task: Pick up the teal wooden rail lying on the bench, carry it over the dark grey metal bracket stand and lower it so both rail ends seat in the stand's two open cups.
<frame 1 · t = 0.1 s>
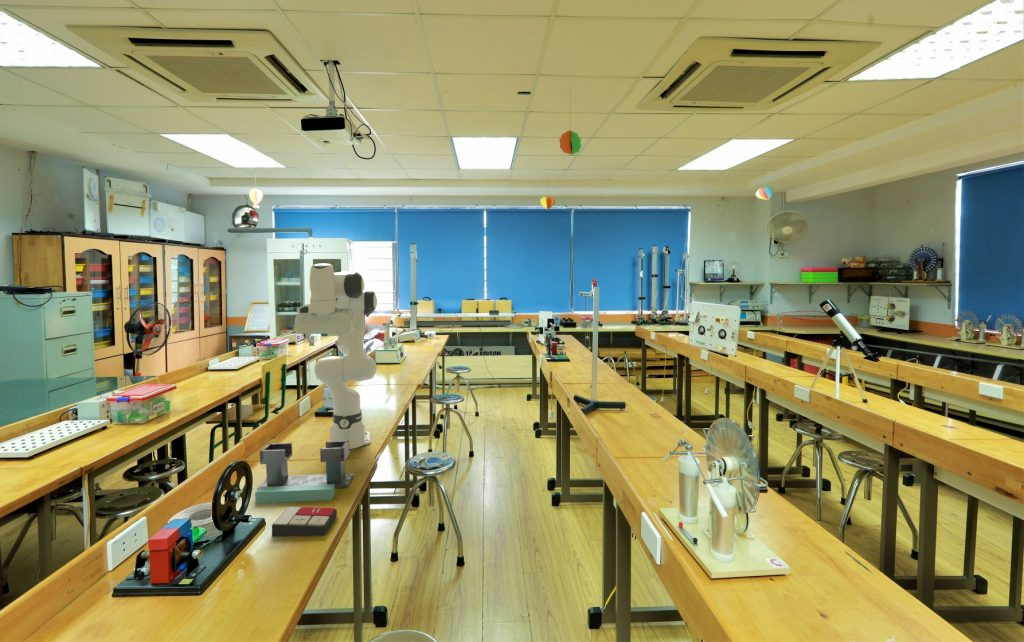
hand: (324, 345, 182), 48 cm above the lab bench, tool pointing down, fingers open, 8 cm apart
rail: (295, 499, 164), on the lab bench
bracket stand: (307, 483, 176), on the lab bench
calculator: (305, 528, 146), on the lab bench
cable: (202, 533, 143), on the lab bench
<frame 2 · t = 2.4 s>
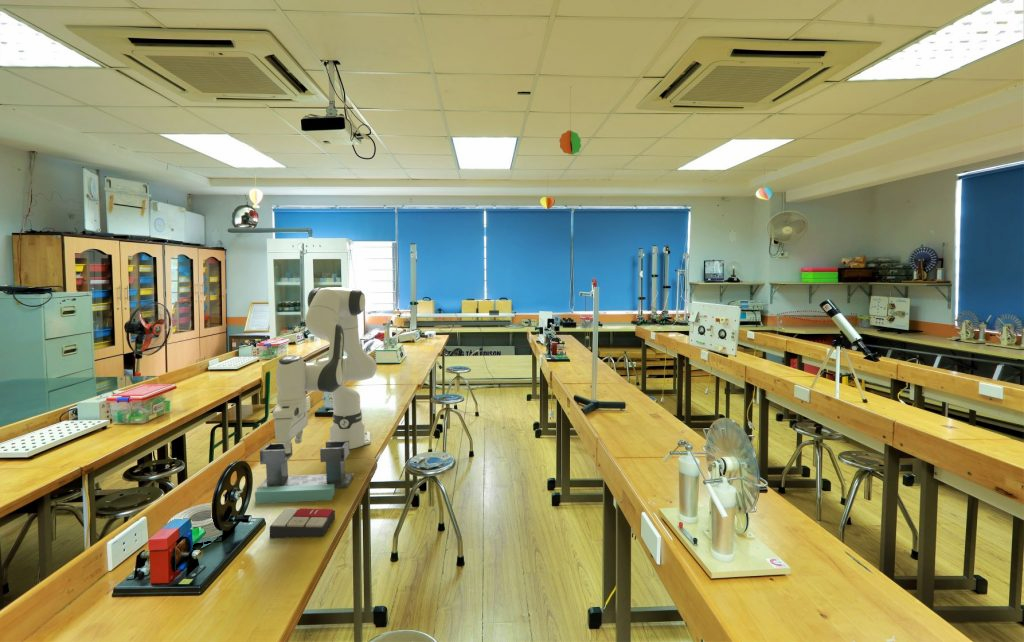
hand: (293, 447, 162), 17 cm above the lab bench, tool pointing down, fingers open, 8 cm apart
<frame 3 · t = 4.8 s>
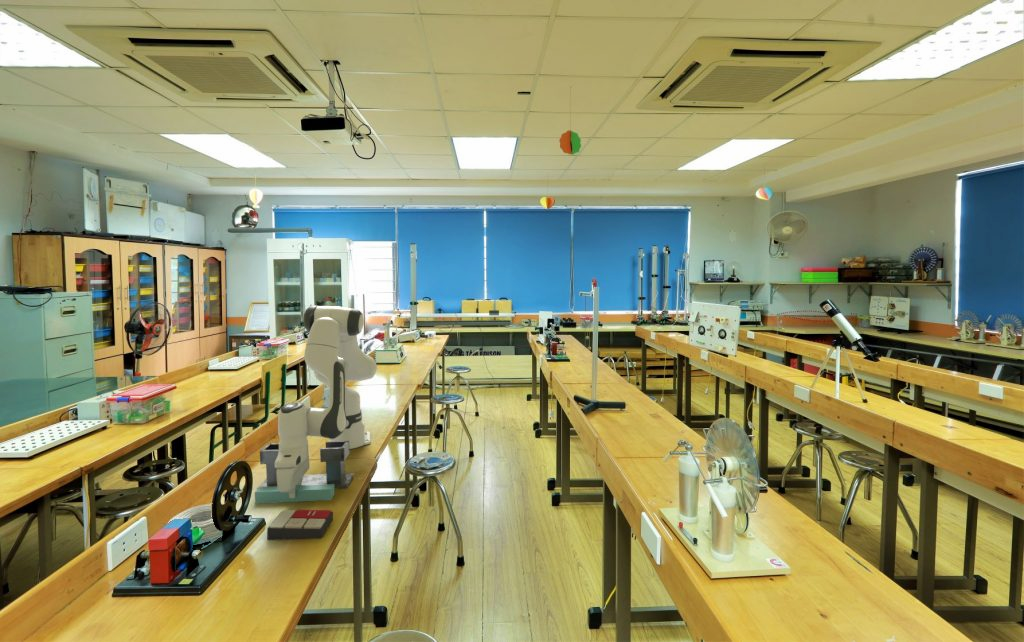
hand: (295, 493, 163), 2 cm above the lab bench, tool pointing down, fingers closed on rail, 4 cm apart
rail: (295, 499, 164), on the lab bench, touching gripper
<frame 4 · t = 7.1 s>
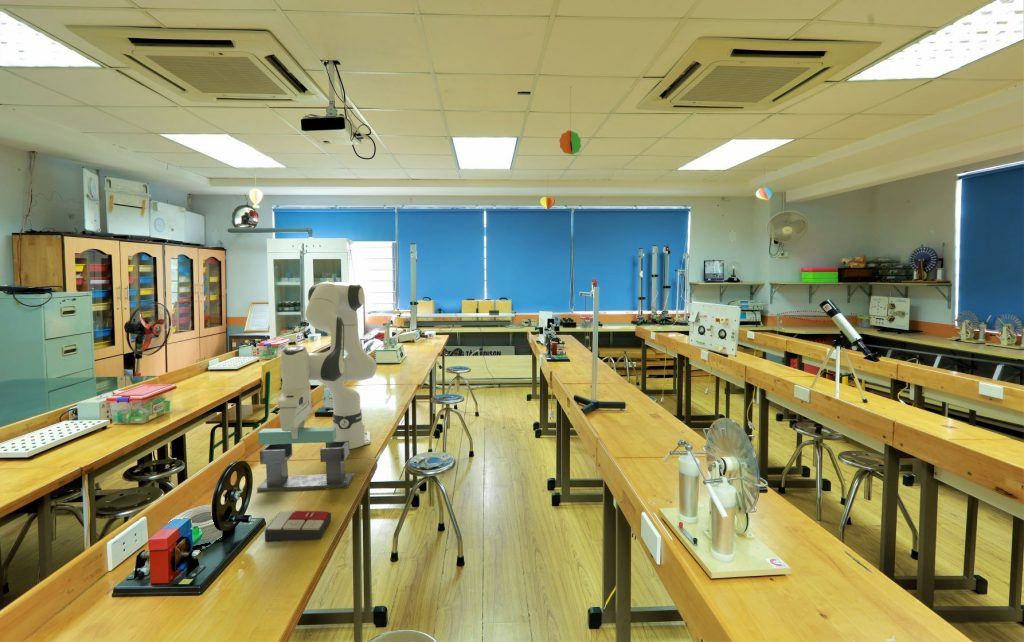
hand: (298, 435, 167), 20 cm above the lab bench, tool pointing down, fingers closed on rail, 4 cm apart
rail: (298, 441, 167), point 18 cm above the lab bench, touching gripper
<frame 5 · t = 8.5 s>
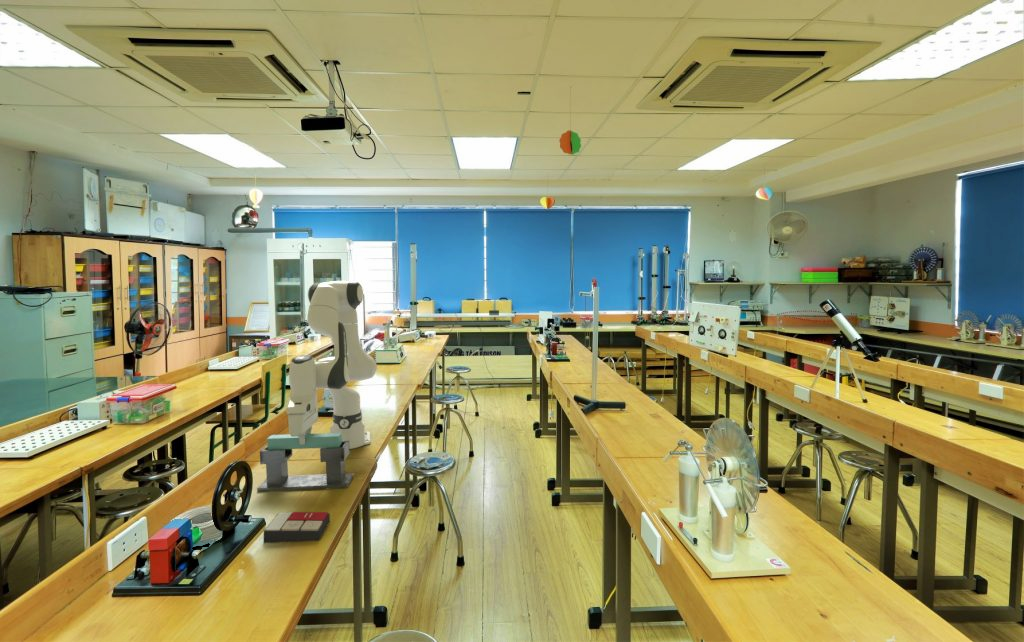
hand: (305, 441, 174), 16 cm above the lab bench, tool pointing down, fingers closed on rail, 4 cm apart
rail: (305, 446, 174), point 14 cm above the lab bench, touching gripper
when the fingers open (13 cm above the lab bench, at t = 9.7 s): rail stays where it is, resting on bracket stand.
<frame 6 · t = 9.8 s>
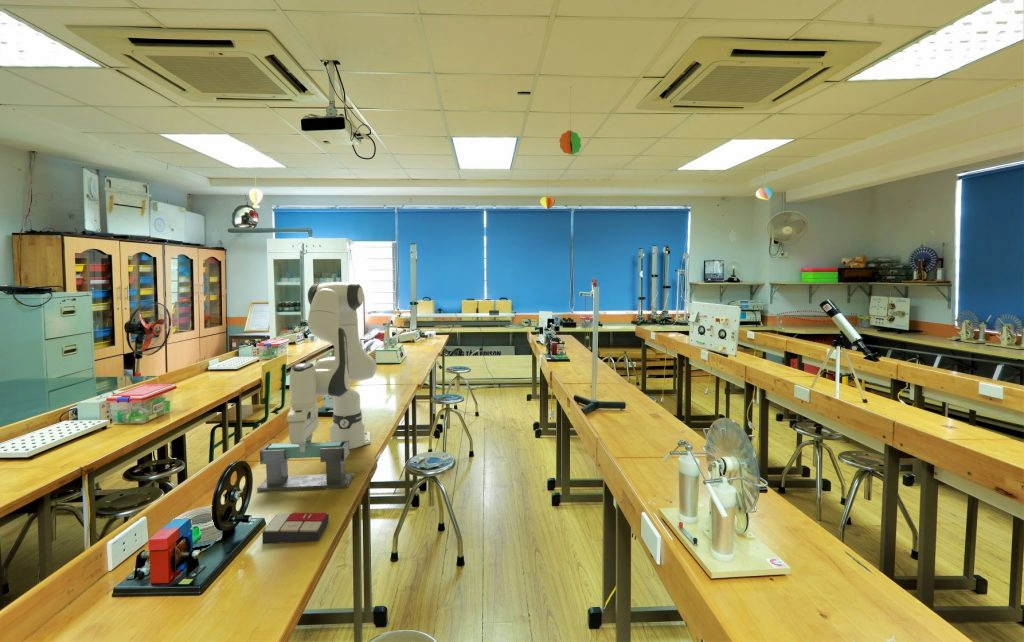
hand: (305, 448, 174), 13 cm above the lab bench, tool pointing down, fingers open, 5 cm apart
rail: (305, 455, 175), point 10 cm above the lab bench, touching bracket stand
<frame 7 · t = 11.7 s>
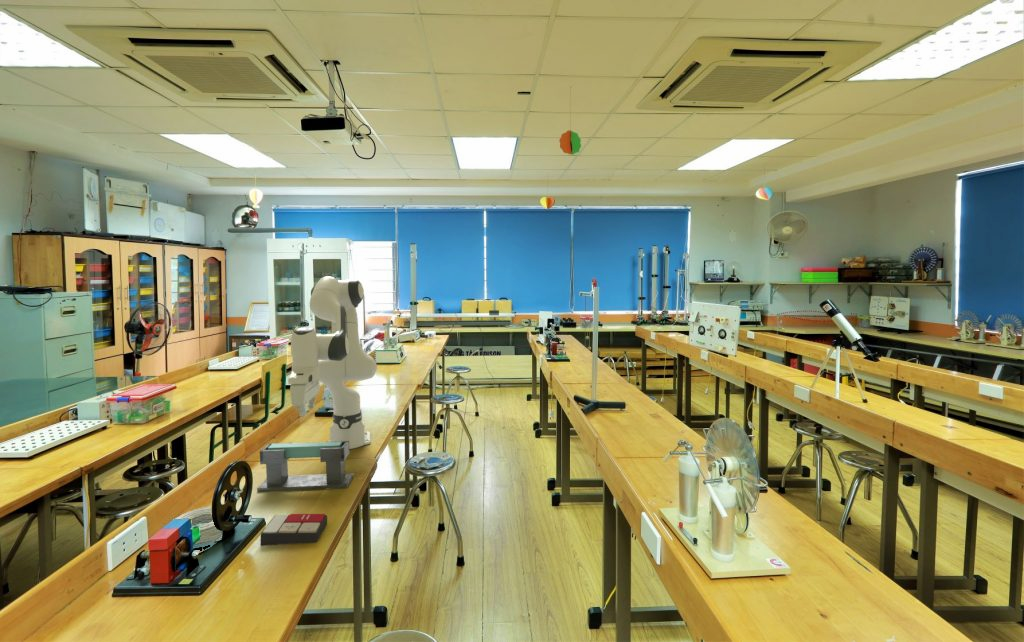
hand: (307, 412, 175), 25 cm above the lab bench, tool pointing down, fingers open, 8 cm apart
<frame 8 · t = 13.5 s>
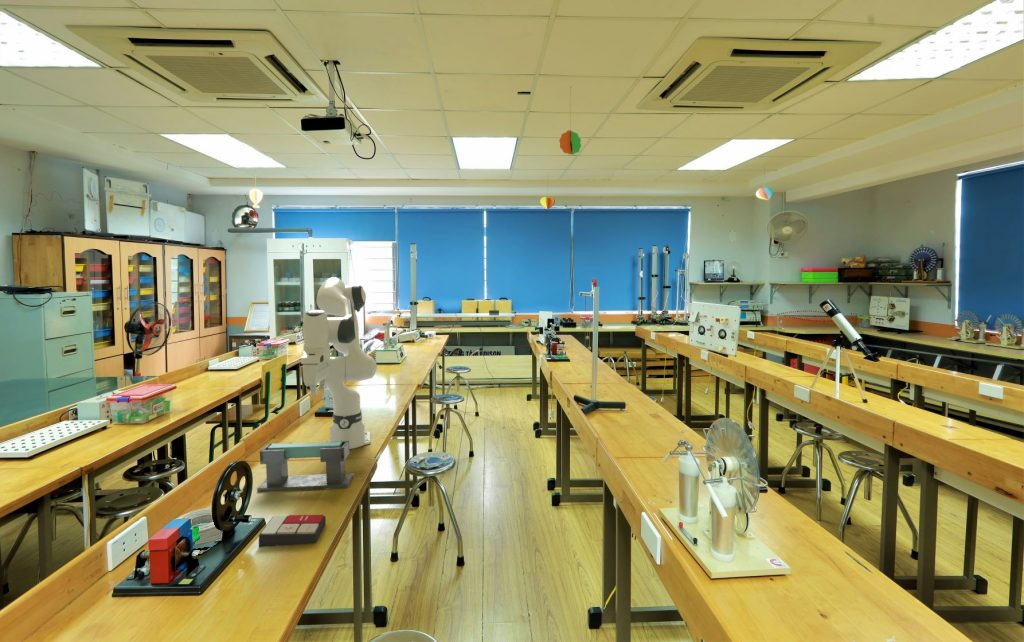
hand: (318, 392, 180), 31 cm above the lab bench, tool pointing down, fingers open, 8 cm apart
at the end: rail 0.1 cm off-centre on the bracket stand, point 10.2 cm above the bracket stand's base; rail tilted 0°; the gripper is holding nothing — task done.
